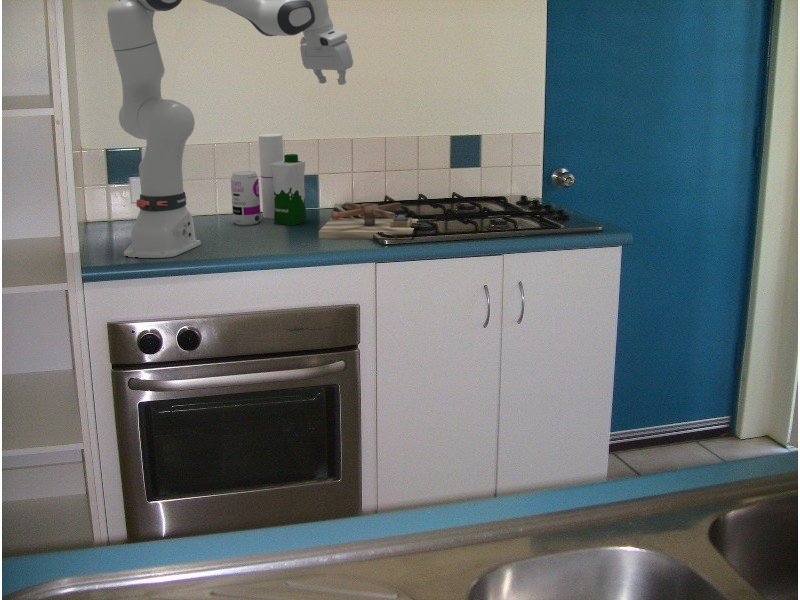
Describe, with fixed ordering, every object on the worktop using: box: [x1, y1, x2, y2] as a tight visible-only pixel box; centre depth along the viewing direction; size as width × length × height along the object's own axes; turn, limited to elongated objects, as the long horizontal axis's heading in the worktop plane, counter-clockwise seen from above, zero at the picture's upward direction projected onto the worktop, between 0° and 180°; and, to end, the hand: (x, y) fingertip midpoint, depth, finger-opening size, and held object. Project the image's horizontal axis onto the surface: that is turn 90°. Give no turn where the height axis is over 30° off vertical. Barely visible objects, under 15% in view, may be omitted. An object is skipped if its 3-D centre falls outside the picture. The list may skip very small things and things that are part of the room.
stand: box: [318, 217, 419, 240], centre depth 261 cm, size 18×26×4 cm
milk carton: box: [270, 153, 307, 226], centre depth 273 cm, size 9×9×20 cm
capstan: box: [330, 201, 402, 220], centre depth 259 cm, size 22×24×3 cm
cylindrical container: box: [258, 133, 284, 220], centre depth 282 cm, size 7×7×25 cm
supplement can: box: [230, 170, 262, 226], centre depth 274 cm, size 8×8×15 cm
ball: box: [395, 214, 407, 221], centre depth 260 cm, size 3×3×3 cm
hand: (332, 83), depth 269 cm, fingers open, 8 cm apart
